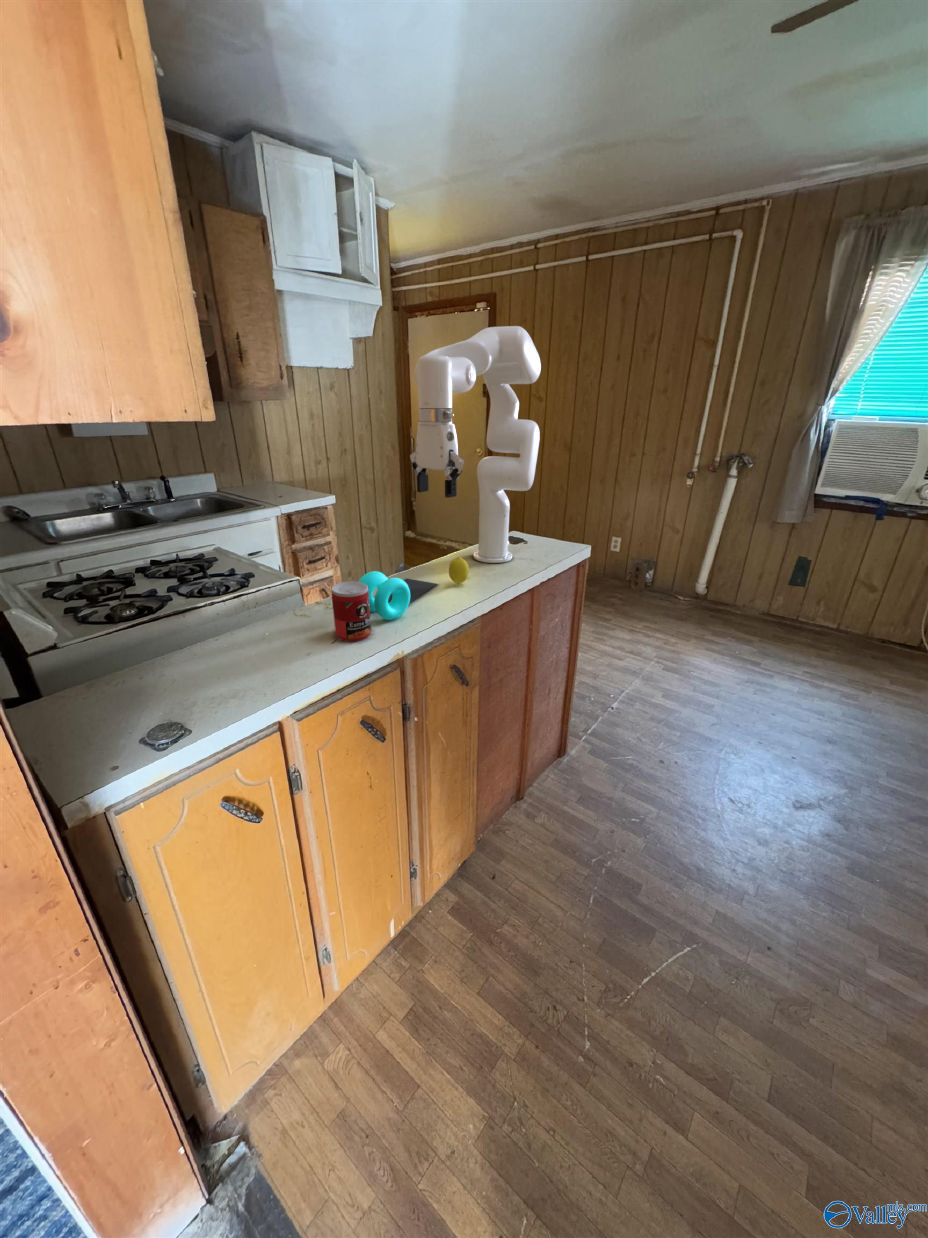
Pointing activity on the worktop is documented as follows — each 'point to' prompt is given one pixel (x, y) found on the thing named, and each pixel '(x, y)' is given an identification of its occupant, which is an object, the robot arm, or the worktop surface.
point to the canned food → (351, 610)
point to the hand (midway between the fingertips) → (436, 494)
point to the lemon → (458, 570)
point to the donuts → (386, 595)
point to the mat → (416, 589)
